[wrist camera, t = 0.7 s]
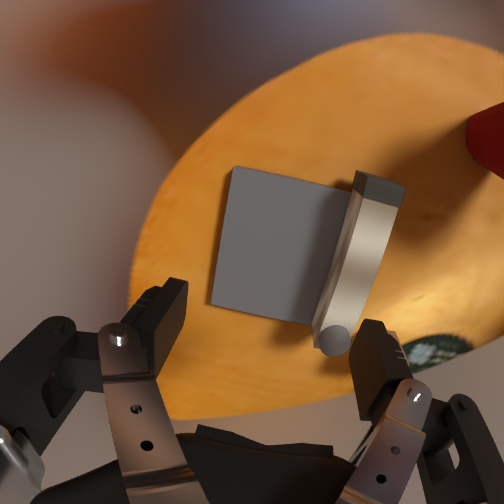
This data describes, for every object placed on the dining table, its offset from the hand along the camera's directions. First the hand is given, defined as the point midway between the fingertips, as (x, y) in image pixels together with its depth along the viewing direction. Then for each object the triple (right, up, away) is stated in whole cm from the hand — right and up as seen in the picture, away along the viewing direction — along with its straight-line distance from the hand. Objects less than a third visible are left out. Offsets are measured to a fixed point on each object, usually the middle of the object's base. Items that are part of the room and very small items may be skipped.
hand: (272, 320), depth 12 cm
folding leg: (+8, +2, +16) cm, 18 cm away
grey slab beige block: (+6, +1, +18) cm, 20 cm away
